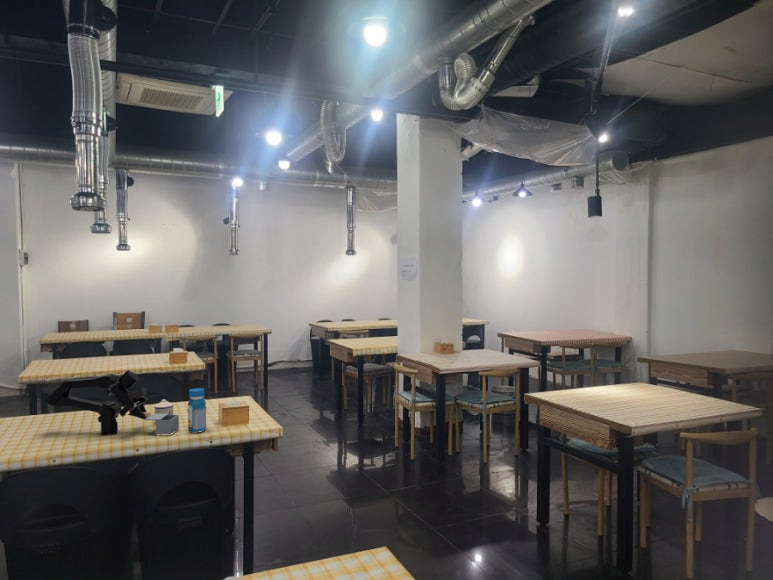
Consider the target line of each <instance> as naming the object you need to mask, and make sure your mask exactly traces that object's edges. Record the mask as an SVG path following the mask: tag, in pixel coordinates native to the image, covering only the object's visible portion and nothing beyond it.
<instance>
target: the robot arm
mask: <svg viewBox="0 0 773 580" xmlns="http://www.w3.org/2000/svg"><path fill="white" fill-rule="evenodd" d="M138 381H140V377H139V375H138V374H137V373H135V372H133V371H131V370H130V369H128V370H126V371H125V372H124V373H123V374H122V375H121V376H119V375H118V376H117V375H116V374H114V373H108V374H104V375H101V376H97V377H91V378H90V377H88V378H78V379H67V380H65V381H63V382H62V383H61V385H60V386H58V387H57V388H56V389H55V390H54V391H53V392H52V393H50V394H49V395H47V397H46V402H47V405H48V406H51V407H71V408H75V409H80V410H85V411H88V412H89V411H90V412H94V413H97V414H98V415H99V416H98V417H97V421H98V423H100V430H99V433H100V435H101V436H106V435H108V436H109V435H114V434H118V431H119V429H118V428H119V426H118V425H119V423H118V421H117V418H118V417H119V415H120V416H121V417H122V418H123V417H125V416H126V415H128V416H130V417H135V418H139V419H141V420H144V421H145V419H146V416H145V415H144V414H143V412H148V411H147V409H146V407H145V403H146V401H148V400H149V397H147V395H148V393H147V391H148V389H146V388H145V387H143V386H141V387H139V388H138V389H137V391H135V392H134V391H133V390H131V391H129V390H128V389H131V388H132V387H133V386H134V385H135V384H136V383H137V382H138ZM92 387H95V388H99V389H107V390H106V396H111V395H113V396H114V397H115V398H116V399H117V400H118V401H112V400H106V401H104V402H98V401H93V400H89V399H84V398H79V397H75V396H72V395H71V392H72V390H73V389H80V388H92ZM110 387H111V388H110ZM121 404H122V405H123V407H122V406H121ZM128 412H129V413H128ZM127 413H128V414H127Z"/></svg>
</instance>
